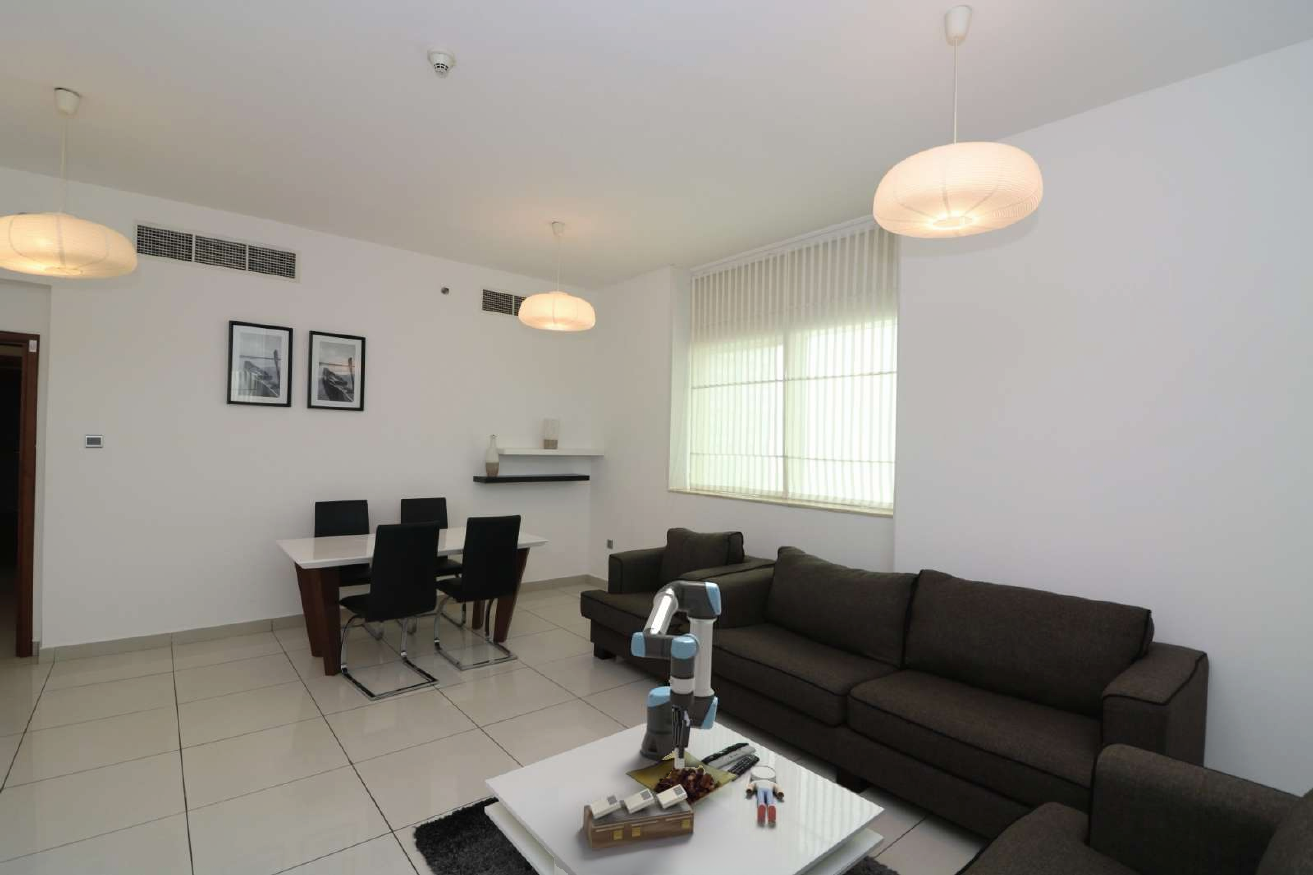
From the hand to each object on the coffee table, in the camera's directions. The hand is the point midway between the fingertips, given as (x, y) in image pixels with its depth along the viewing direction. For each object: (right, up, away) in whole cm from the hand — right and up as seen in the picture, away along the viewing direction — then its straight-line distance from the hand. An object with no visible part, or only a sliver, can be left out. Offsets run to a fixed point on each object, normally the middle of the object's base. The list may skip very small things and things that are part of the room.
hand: (679, 767), depth 191 cm
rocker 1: (-22, -7, -8) cm, 25 cm away
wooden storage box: (-13, -16, -5) cm, 21 cm away
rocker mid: (-12, -8, -5) cm, 15 cm away
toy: (+29, -19, +17) cm, 39 cm away
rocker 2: (-2, -8, -1) cm, 9 cm away
